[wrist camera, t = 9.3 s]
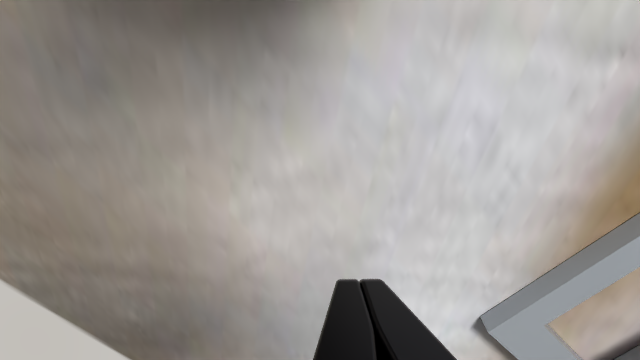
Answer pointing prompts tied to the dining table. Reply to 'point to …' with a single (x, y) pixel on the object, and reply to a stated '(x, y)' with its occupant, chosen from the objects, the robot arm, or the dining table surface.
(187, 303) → the dining table surface
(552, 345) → the pocket board
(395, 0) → the dining table surface
